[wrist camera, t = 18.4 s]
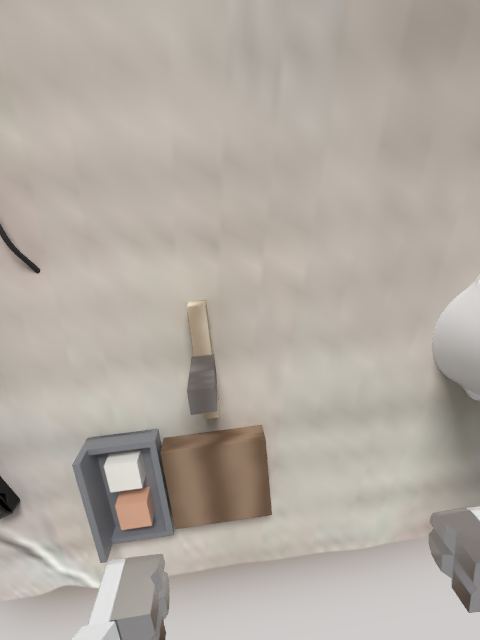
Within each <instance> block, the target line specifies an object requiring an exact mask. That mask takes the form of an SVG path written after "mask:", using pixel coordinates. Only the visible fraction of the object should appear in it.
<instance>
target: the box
mask: <svg viewBox="0 0 480 640" xmlns="http://www.w3.org/2000/svg"><path fill="white" fill-rule="evenodd" d="M134 449H141V452H142V456H143V461H144V466H145V471H146V476H145V480H144V484H143V488H144V487H150V489H151V494H152V498H153V503H154V507H155V513H154V518H153V523H152V526H146V527H139V528H133V529H126V530H121V527H120V523H119V519H118V516H117V512H116V508H115V504H116V502H117V499H118V496H119V493H120V491H118V492H111V493H110V489H109V485H108V481H107V477H106V473H105V469H104V464H105V462H106V460H107V458H108V455H109V453H111V452H119V451H126V450H134ZM161 449H162V446H161V441H160V436H159V431H158V429H153V430H145V431H138V432H130V433H123V434H115V435H107V436H100V437H92V438H87V440H86V442H85V444H84V445H83V447H82V449H81V451H80V452H79V454H78V456H77V458H76V459H75V461H74V463H73V465H72V466H73V469H74V473H75V476H76V480H77V483H78V487H79V490H80V493H81V497H82V500H83V504H84V507H85V511H86V514H87V518H88V521H89V525H90V528H91V532H92V535H93V539H94V542H95V545H96V549H97V552H98V556H99V559H100V563H103V562H107V560H108V557H109V554H110V550H111V547H112V544H115V543H122V542H129V541H136V540H142V539H149V538H156V537H163V536H170V535H174V528H175V525H174V520H173V515H172V509H171V504H170V499H169V494H168V489H167V484H166V479H165V474H164V468H163V463H162V458H161Z"/></svg>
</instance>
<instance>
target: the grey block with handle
mask: <svg viewBox="0 0 480 640" xmlns="http://www.w3.org/2000/svg"><path fill="white" fill-rule="evenodd" d="M187 311H188V318H189V325H190V332H191V339H192V346H193V353H194V357H192V359H191V366H190V374H189V381H188V388H187V393H188V400H189V406H190V412H191V415H193V414H201V413H202V415H203V420H204V419H212V418H220V415H219V401H218V393H217V381H216V368H215V360H214V354H212V346H211V338H210V330H209V322H208V314H207V306H206V300H201V301H192V302H188V306H187Z"/></svg>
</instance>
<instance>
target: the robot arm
mask: <svg viewBox="0 0 480 640" xmlns="http://www.w3.org/2000/svg"><path fill="white" fill-rule="evenodd" d="M432 352H433V357H434V360H435V362H436V364H437V366H438V368H439V369H440V371H441V372H442V373H443V374H444V375H445V376H447V377H448V378H449V379H451V380H453V381H454V382H456V383H458V384H459V385H461V386H462V387H463V389H464V390H465V392H466V393H467V395H468V396H469V397H470V398H472V399H474V400H477V401H479V400H480V274H479V275H478V277H477V278H476V280H475V281H474V283H473V284H472V285H471V286H469V287H468V288H467V289H466V290H464V291H463V292H462V293H460V294H459V295H458V296H457V297H456V298H455V299H454V300H453V301H452V302H451V303H450V304H449V305H448V306H447V307H446V309H445V310H444V311H443V313H442V314H441V316H440V318H439V320H438V322H437V324H436V326H435V329H434V333H433V338H432ZM430 524H431V525H432V526H433V528H434V529H433V530H432V531H431V533H430V534H429V546H430V550H431V554H432V556H433V558H434V560H435V562H436V564H437V565H438V567H439V568H440V570H441V571H442V572H443V573H445V574H446V575H448V576H449V577H451V578H452V588H453V590H454V591H455V593H456V594H457V596H458V597H459V599H460V600H461V602H462V603H463V605H464V606H465V608H466V609H467V611H468V612H469V613H472V612H480V506H477V507H470V508H465V509H464V508H461V509H455V510H449V511H442V512H436V513H433V514H432V515H431V518H430ZM164 566H165V561H164V557H163V554H156V555H148V556H139V557H131V558H123V559H116V560H110V561H109V563H108V564H107V566H106V568H105V572H104V575H103V578H102V581H101V584H100V588H99V591H98V594H97V597H96V601H95V604H94V607H93V610H92V613H91V617H90V620H89V623H88V625H86V626H82V627H81V628H80V630H79V631H78V632H77V633H76V634H75V636H74V637H73V638H72V639H71V640H165V636H166V631H165V626H164V622H163V621H164V619H165V618H166V616H167V615H168V610H169V579H168V574H167V573H166V572H164Z"/></svg>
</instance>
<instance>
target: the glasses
mask: <svg viewBox="0 0 480 640" xmlns="http://www.w3.org/2000/svg"><path fill="white" fill-rule="evenodd" d="M0 235H1V237H2V239H3V240H4V242H5V243H6V244H7V246H8V247H9V248H10V249H11V250H12V251H13V252H14V253H15V254H16V255H17V256H18V257H19V258H20V259H21V260H23V261H24V262H25V263H26V264H27V265H28V266H29V267H30V268H32V269H33V270H34V271H35V272H36V273H39V272H40V269H39V268H38V267H37V266H36V265H35V264H34V263H32V262H31V261H30V260H29V259H28V258H27V257H26V256H24V255H23V254H22V253H21V252H20V251H19V250H18V249H17V248H16V247H15V246H14V245H13V243H12V242H11V241H10V239H9V238H8V236H7V235H6V233H5V231H4V230H3V228H2V226H1V224H0Z"/></svg>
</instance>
